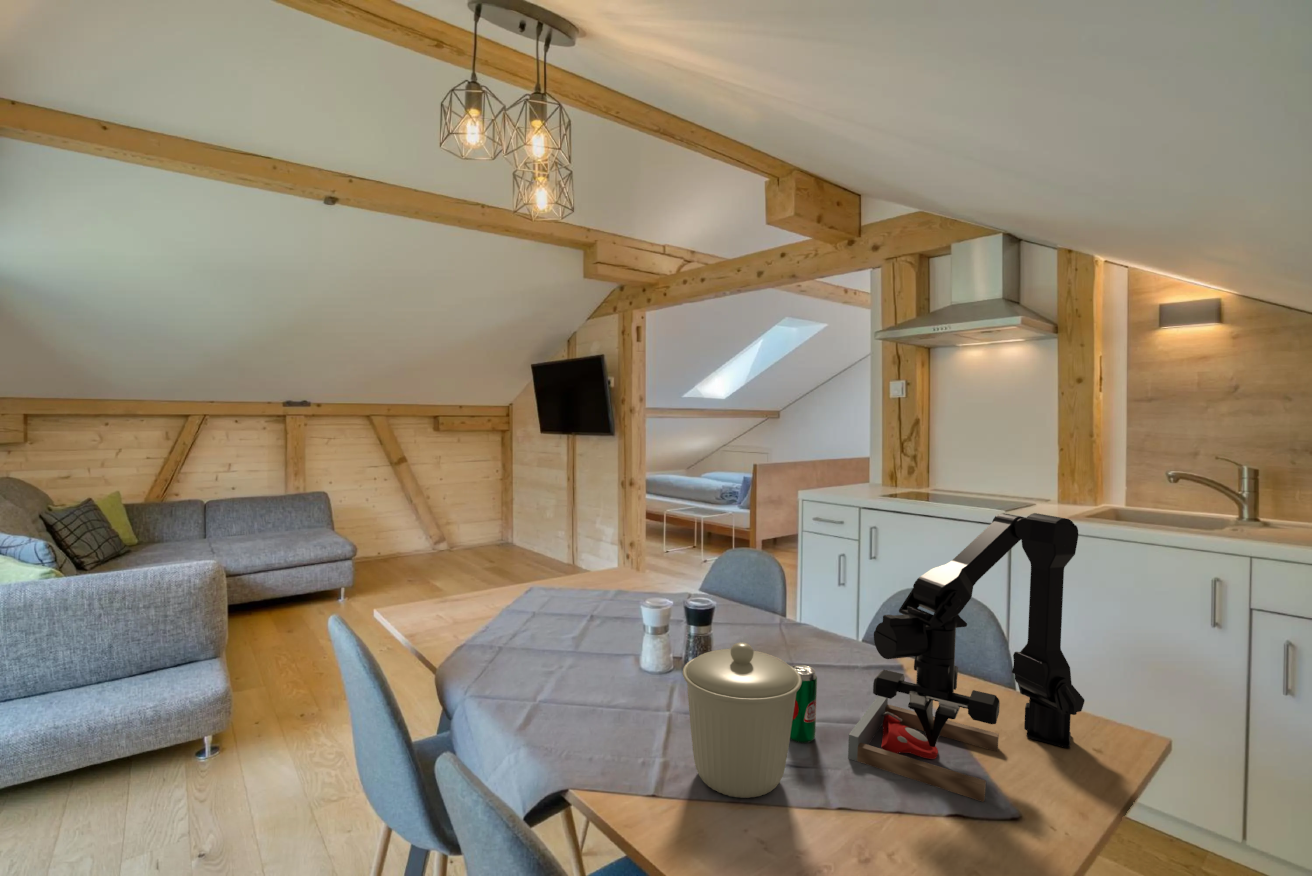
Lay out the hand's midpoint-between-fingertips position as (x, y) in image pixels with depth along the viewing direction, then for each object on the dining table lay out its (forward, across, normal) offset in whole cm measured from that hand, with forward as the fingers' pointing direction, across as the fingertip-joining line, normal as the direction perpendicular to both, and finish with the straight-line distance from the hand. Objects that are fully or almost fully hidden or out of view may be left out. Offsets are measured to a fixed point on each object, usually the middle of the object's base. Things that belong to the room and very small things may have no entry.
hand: (932, 745), depth 105 cm
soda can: (+2, +20, +7) cm, 22 cm away
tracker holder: (+2, +5, -2) cm, 5 cm away
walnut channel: (+2, +1, 0) cm, 2 cm away
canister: (+2, +23, +25) cm, 34 cm away
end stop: (+2, +10, 0) cm, 11 cm away
